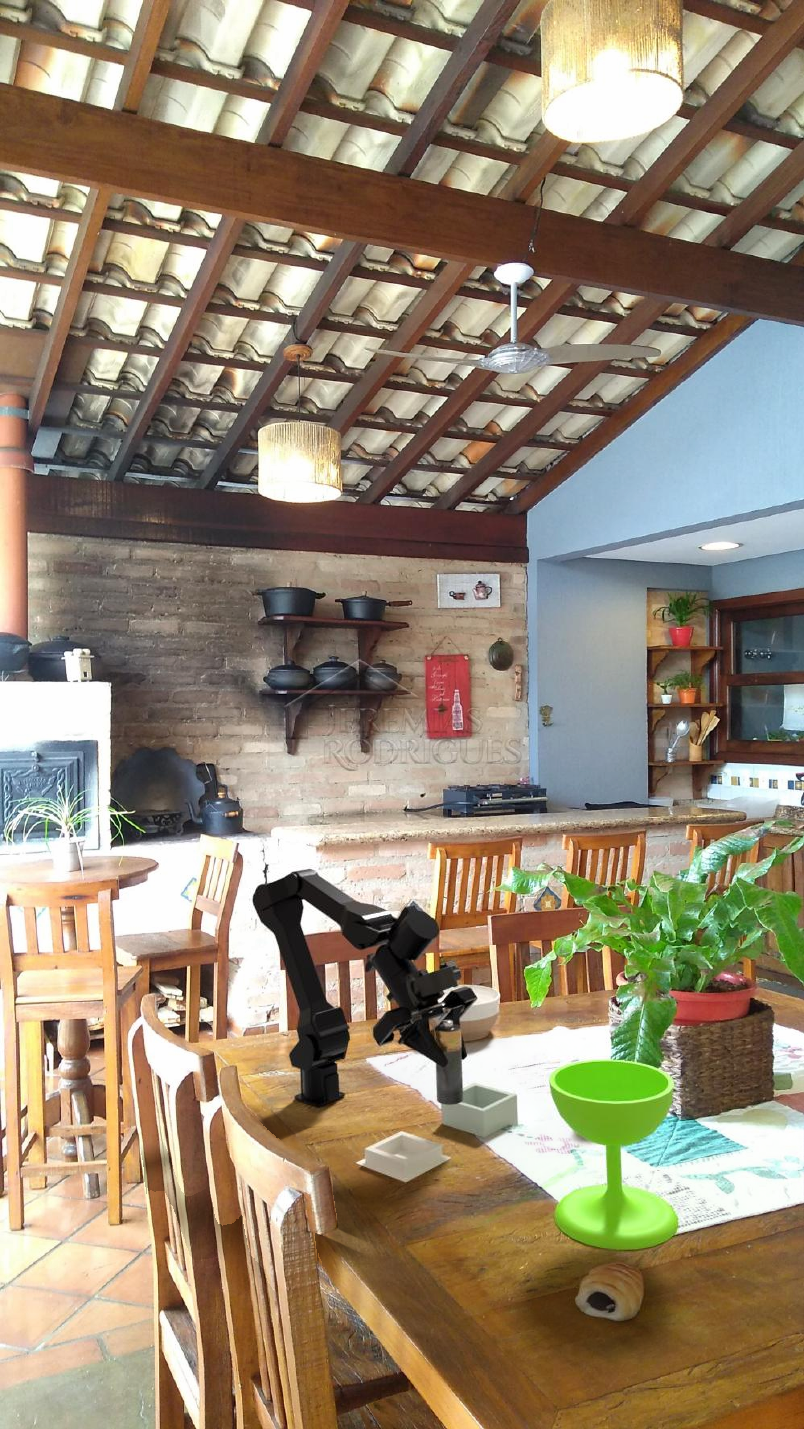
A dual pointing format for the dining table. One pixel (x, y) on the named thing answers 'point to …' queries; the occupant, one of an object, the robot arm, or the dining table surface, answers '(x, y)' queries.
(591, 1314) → the pastry
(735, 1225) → the dining table surface
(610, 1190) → the wineglass
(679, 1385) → the dining table surface
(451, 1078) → the cell
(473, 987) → the bowl
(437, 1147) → the cradle
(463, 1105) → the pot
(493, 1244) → the dining table surface
